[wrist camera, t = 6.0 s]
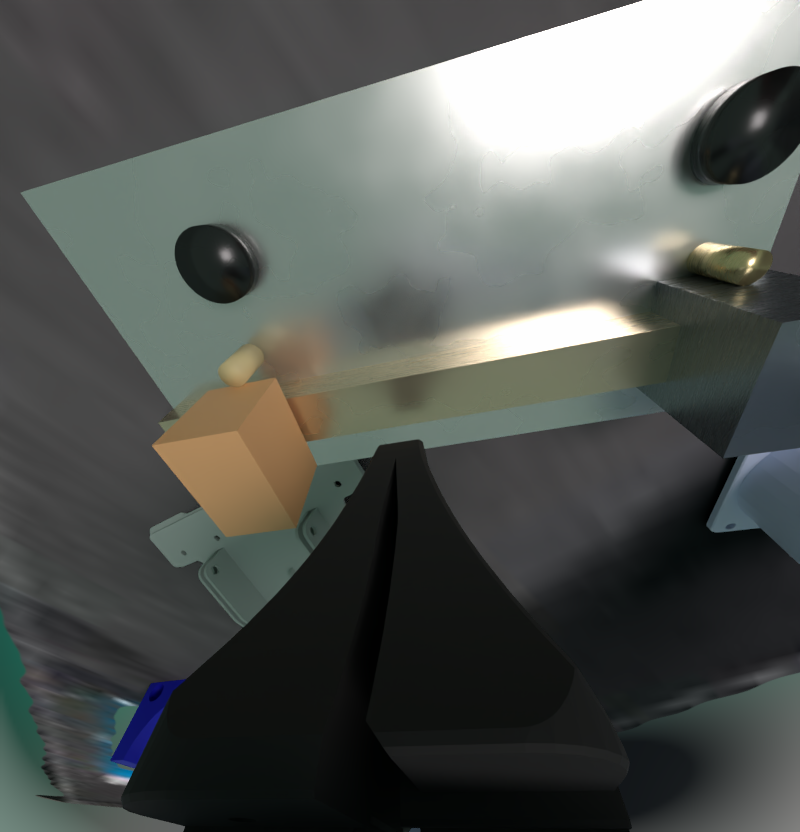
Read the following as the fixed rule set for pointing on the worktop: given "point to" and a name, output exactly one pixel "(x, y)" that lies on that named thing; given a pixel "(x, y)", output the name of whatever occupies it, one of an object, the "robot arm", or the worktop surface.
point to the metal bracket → (256, 544)
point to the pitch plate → (482, 240)
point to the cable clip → (143, 723)
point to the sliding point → (242, 451)
